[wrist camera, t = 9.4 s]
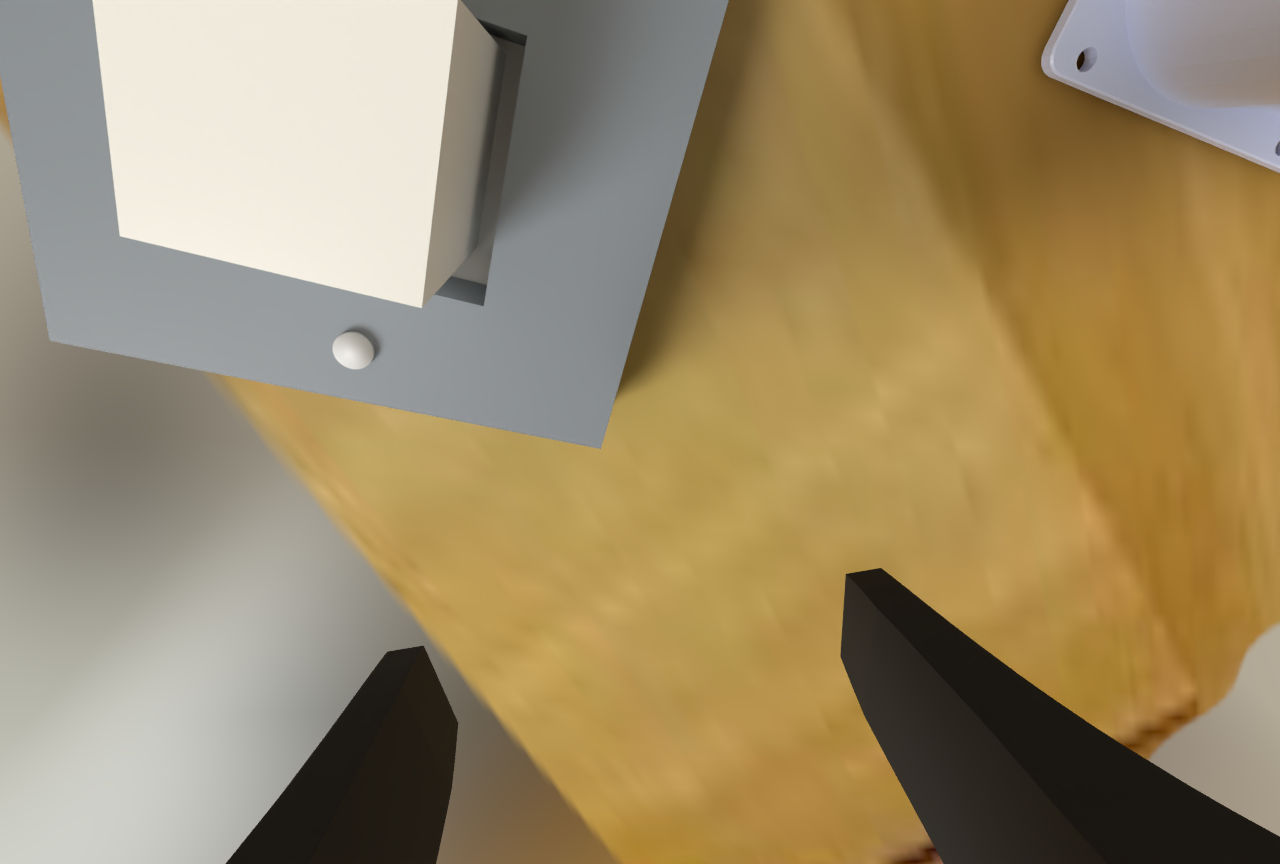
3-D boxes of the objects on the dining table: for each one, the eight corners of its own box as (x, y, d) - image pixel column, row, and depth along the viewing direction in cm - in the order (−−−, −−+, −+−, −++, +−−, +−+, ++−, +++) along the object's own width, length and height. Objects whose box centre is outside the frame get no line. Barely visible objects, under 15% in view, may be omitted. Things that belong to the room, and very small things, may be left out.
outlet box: (724, -55, 13) (758, -98, 10) (597, 410, 18) (601, 452, 15) (48, -334, 10) (-118, -483, 8) (127, 311, 15) (42, 343, 13)
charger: (506, 54, 13) (458, -3, 8) (476, 247, 15) (421, 307, 9) (297, -18, 12) (74, -142, 7) (294, 198, 14) (119, 235, 8)
